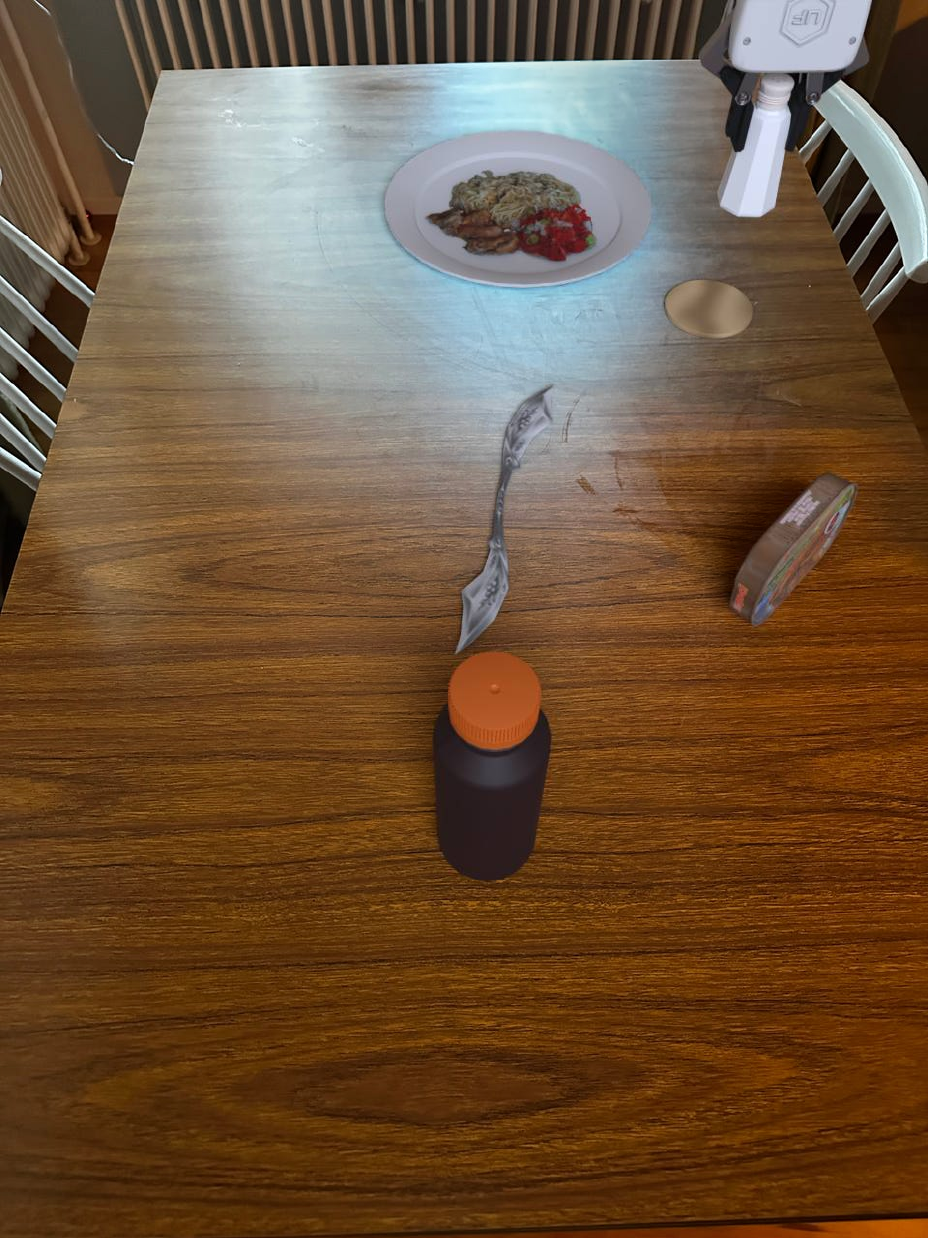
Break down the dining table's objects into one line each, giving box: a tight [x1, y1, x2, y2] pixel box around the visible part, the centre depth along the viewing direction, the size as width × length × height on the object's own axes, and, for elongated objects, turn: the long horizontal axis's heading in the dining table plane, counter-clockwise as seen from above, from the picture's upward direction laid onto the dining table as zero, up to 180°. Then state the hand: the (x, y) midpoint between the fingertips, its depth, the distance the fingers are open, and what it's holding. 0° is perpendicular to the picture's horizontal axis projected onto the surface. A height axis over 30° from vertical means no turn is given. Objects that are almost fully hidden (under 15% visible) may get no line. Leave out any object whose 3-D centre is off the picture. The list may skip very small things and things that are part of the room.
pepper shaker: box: [716, 73, 795, 218], centre depth 83 cm, size 5×5×11 cm
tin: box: [727, 472, 859, 627], centre depth 76 cm, size 15×3×8 cm, turn 137°
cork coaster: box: [664, 279, 754, 339], centre depth 99 cm, size 9×9×1 cm
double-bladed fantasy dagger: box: [454, 384, 556, 655], centre depth 83 cm, size 32×1×5 cm
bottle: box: [431, 650, 553, 882], centre depth 58 cm, size 7×7×20 cm
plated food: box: [383, 130, 653, 289], centre depth 107 cm, size 30×30×3 cm
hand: (761, 141), depth 83 cm, fingers closed on pepper shaker, 3 cm apart
